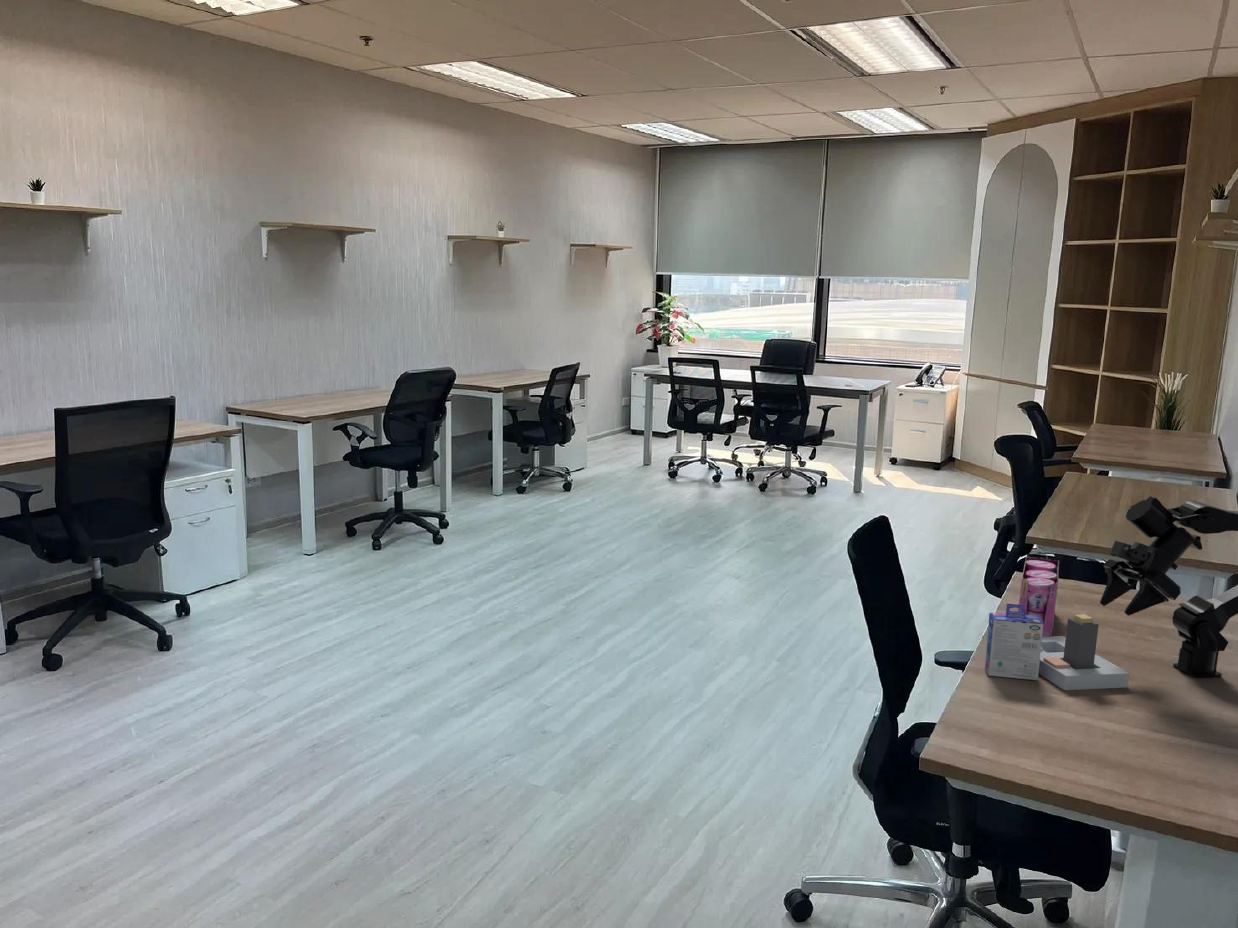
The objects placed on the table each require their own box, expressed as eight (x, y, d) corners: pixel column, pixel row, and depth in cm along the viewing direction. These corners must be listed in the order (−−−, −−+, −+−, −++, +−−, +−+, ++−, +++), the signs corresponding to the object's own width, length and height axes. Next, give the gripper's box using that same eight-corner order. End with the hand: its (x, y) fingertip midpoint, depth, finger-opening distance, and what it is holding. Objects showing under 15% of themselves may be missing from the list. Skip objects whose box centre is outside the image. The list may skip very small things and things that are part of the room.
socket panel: (1061, 648, 206) (1063, 633, 205) (1127, 687, 186) (1129, 670, 185) (1004, 651, 204) (1005, 635, 203) (1064, 690, 183) (1066, 673, 183)
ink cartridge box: (1032, 671, 193) (1040, 604, 190) (1039, 681, 187) (1047, 613, 185) (982, 666, 195) (989, 600, 192) (987, 676, 189) (994, 608, 187)
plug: (1078, 672, 193) (1085, 612, 190) (1091, 680, 189) (1099, 619, 187) (1061, 673, 192) (1068, 613, 190) (1074, 681, 188) (1082, 620, 186)
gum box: (1051, 642, 210) (1058, 585, 208) (1014, 636, 213) (1020, 579, 211) (1054, 612, 231) (1060, 560, 229) (1019, 607, 234) (1025, 555, 232)
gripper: (1110, 521, 199) (1062, 576, 200) (1162, 532, 181) (1109, 593, 181) (1148, 554, 200) (1100, 608, 201) (1204, 569, 181) (1151, 629, 182)
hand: (1113, 609), depth 191 cm, fingers open, 9 cm apart
